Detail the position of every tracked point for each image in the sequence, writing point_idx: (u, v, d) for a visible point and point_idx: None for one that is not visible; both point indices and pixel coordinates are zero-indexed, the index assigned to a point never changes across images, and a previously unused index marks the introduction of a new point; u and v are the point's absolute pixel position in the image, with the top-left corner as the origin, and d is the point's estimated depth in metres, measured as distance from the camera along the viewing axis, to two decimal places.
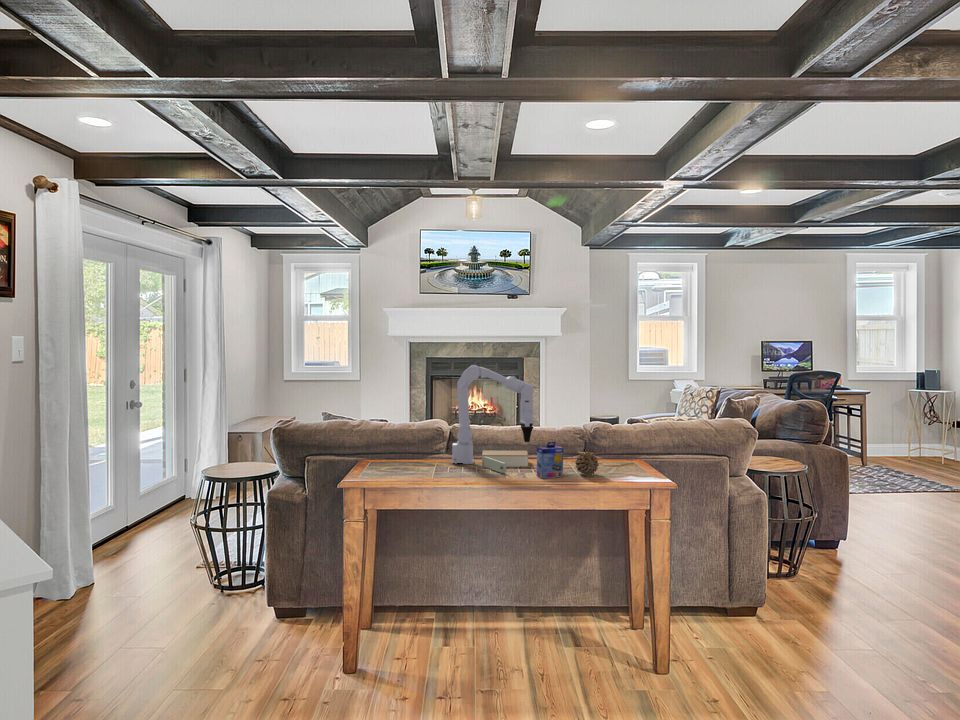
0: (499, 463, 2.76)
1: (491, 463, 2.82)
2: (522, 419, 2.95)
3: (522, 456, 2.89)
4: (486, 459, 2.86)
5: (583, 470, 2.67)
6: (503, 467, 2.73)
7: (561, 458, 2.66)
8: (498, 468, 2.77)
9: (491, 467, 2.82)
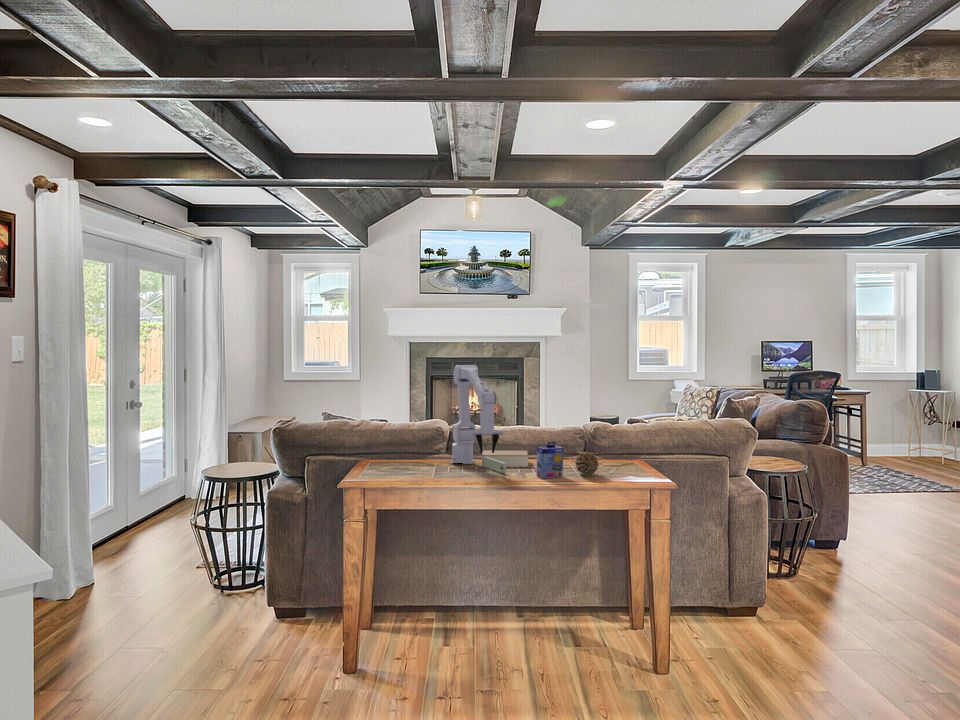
0: (499, 463, 2.76)
1: (491, 463, 2.82)
2: None
3: (522, 456, 2.89)
4: (486, 459, 2.86)
5: (583, 470, 2.67)
6: (503, 467, 2.73)
7: (561, 458, 2.66)
8: (498, 468, 2.77)
9: (491, 467, 2.82)
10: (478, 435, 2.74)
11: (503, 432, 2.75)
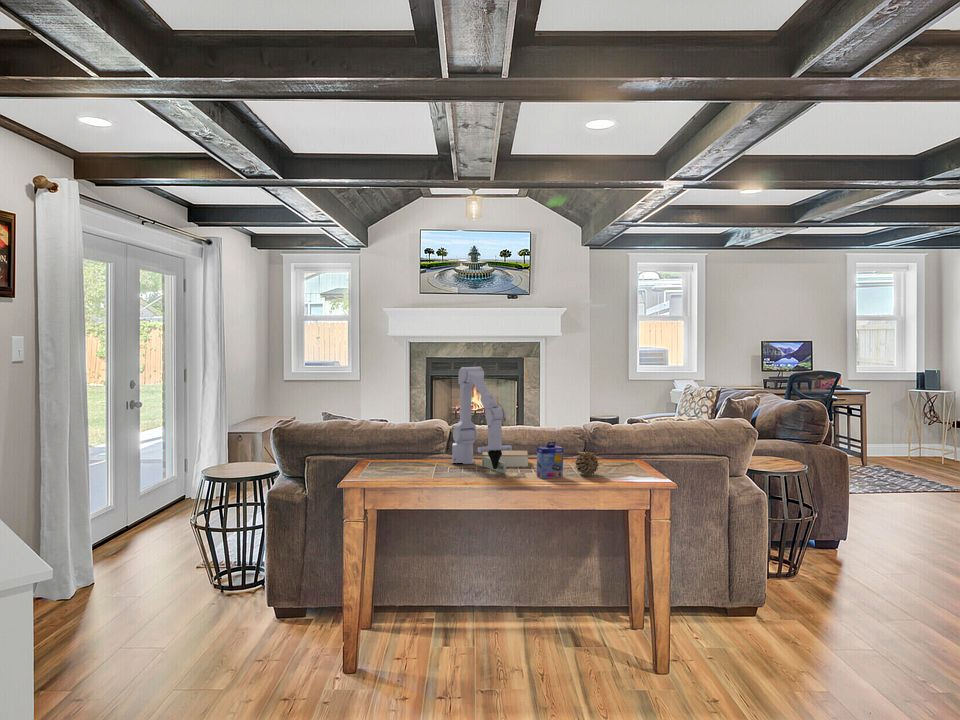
0: (499, 463, 2.76)
1: (491, 463, 2.82)
2: None
3: (522, 456, 2.89)
4: (486, 459, 2.86)
5: (583, 470, 2.67)
6: (503, 467, 2.73)
7: (561, 458, 2.66)
8: (498, 468, 2.77)
9: (491, 467, 2.82)
10: (492, 451, 2.75)
11: (510, 447, 2.78)
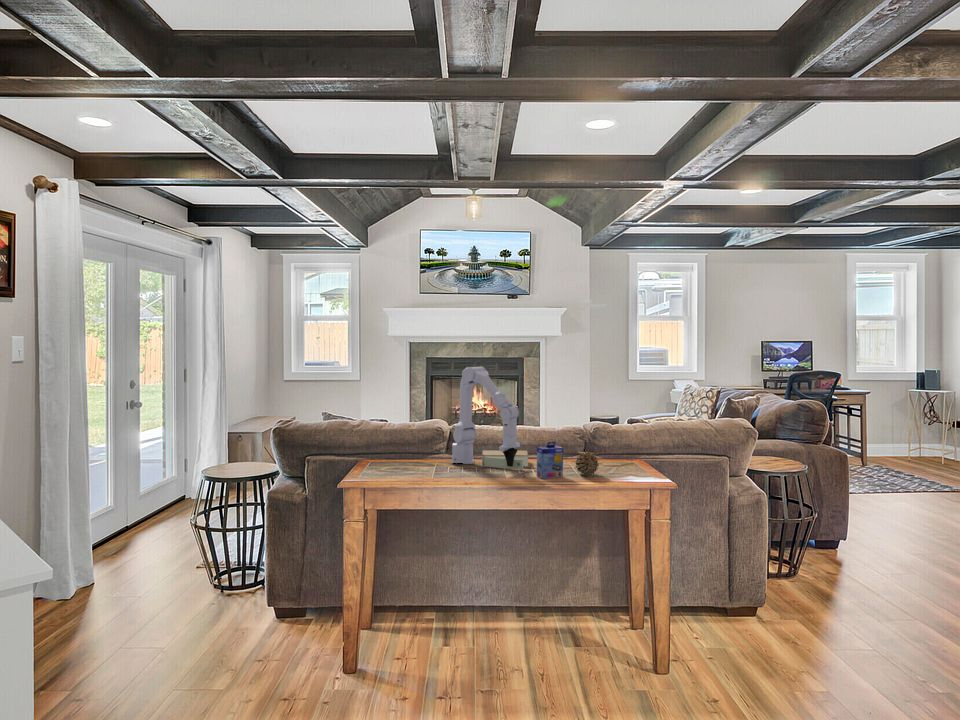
0: None
1: (500, 462, 2.85)
2: (503, 443, 2.81)
3: (522, 456, 2.89)
4: (489, 459, 2.87)
5: (583, 470, 2.67)
6: (521, 463, 2.81)
7: (561, 458, 2.66)
8: None
9: (499, 466, 2.85)
10: (509, 449, 2.80)
11: (519, 444, 2.86)
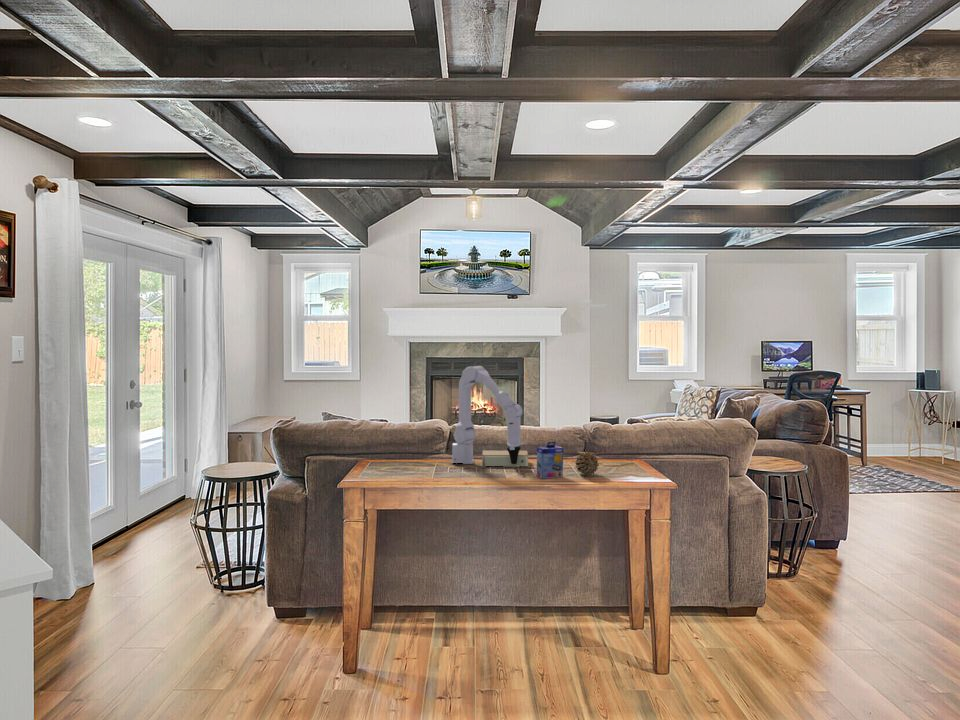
0: (517, 458, 2.88)
1: (502, 461, 2.88)
2: (508, 442, 2.85)
3: None
4: (490, 458, 2.88)
5: (583, 470, 2.67)
6: (524, 460, 2.88)
7: (561, 458, 2.66)
8: None
9: (501, 464, 2.88)
10: (515, 447, 2.85)
11: None
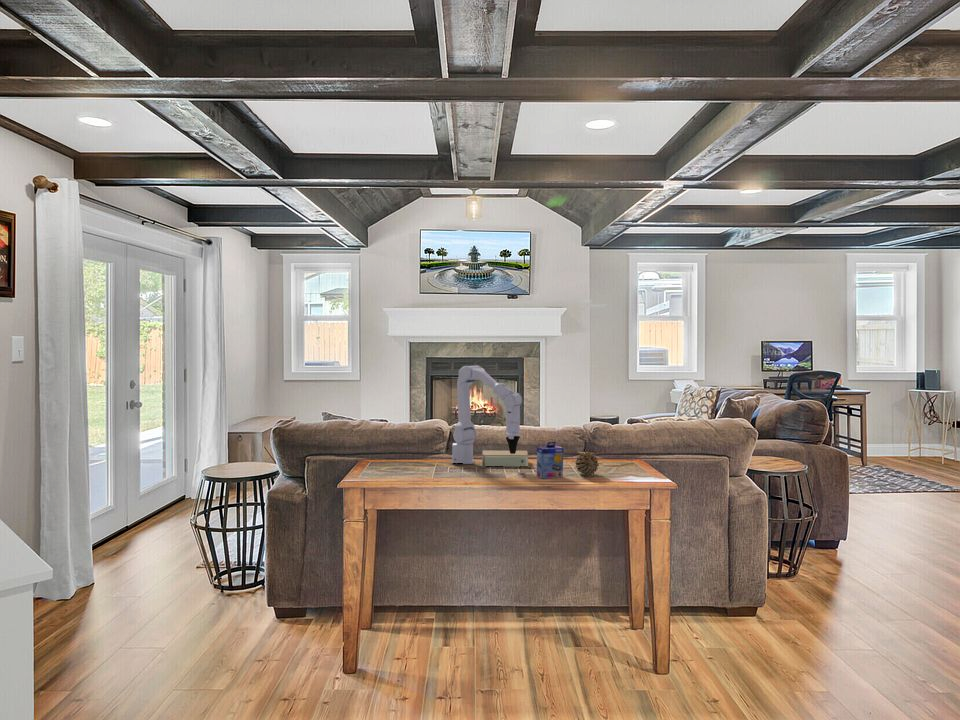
0: (517, 458, 2.88)
1: (502, 461, 2.88)
2: (507, 431, 2.80)
3: None
4: (490, 458, 2.88)
5: (583, 470, 2.67)
6: (524, 460, 2.88)
7: (561, 458, 2.66)
8: (515, 463, 2.88)
9: (501, 464, 2.88)
10: (514, 436, 2.80)
11: None
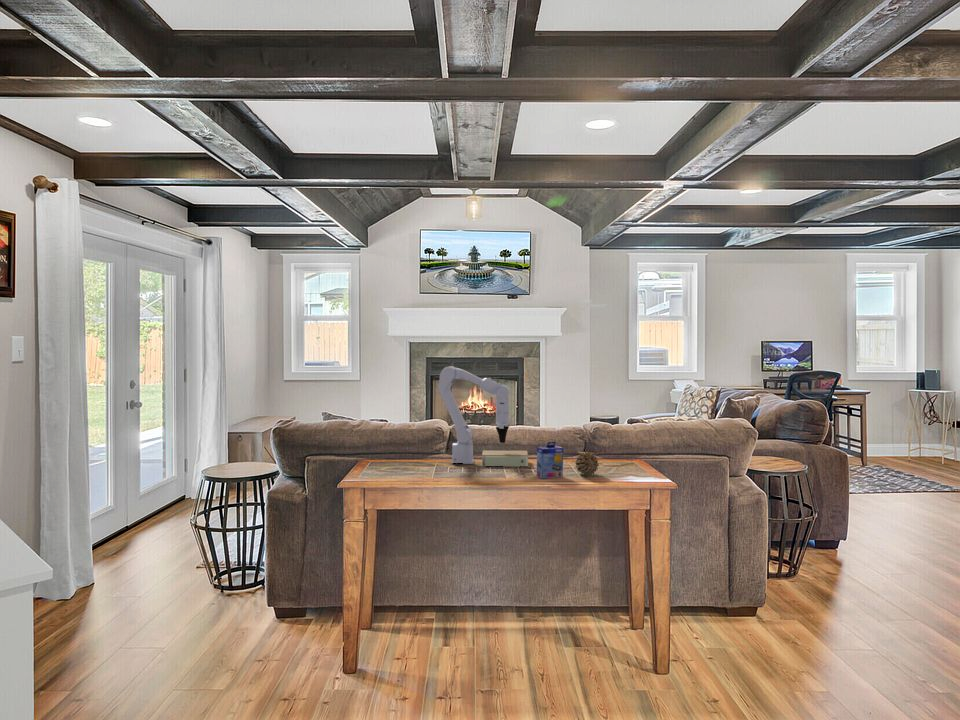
0: (517, 458, 2.88)
1: (502, 461, 2.88)
2: (497, 421, 2.94)
3: None
4: (490, 458, 2.88)
5: (583, 470, 2.67)
6: (524, 460, 2.88)
7: (561, 458, 2.66)
8: (515, 463, 2.88)
9: (501, 464, 2.88)
10: (503, 426, 2.94)
11: None
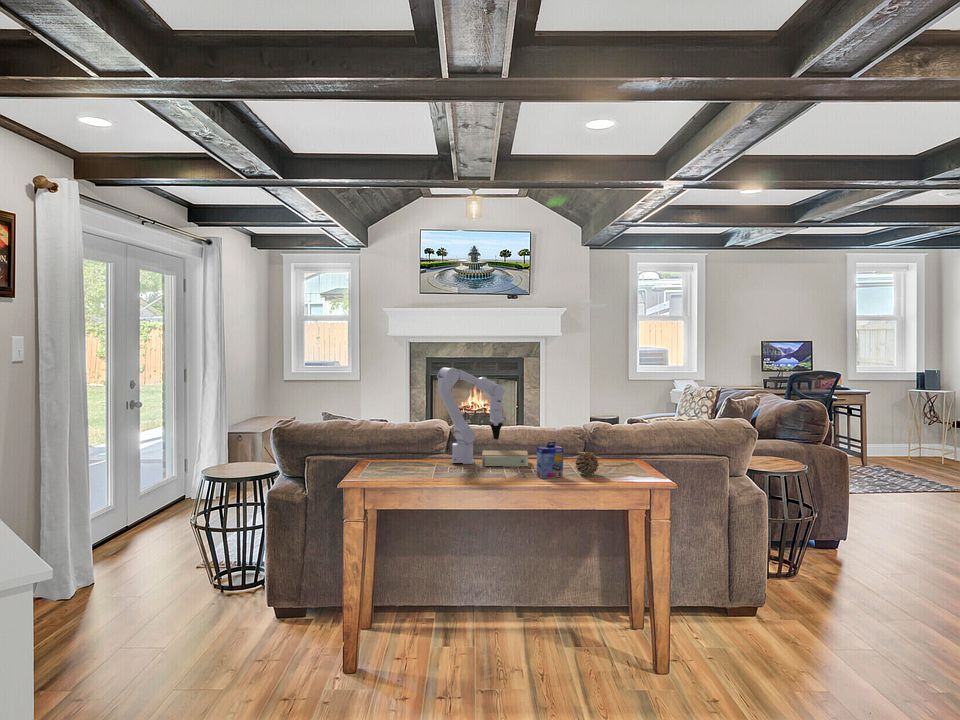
0: (517, 458, 2.88)
1: (502, 461, 2.88)
2: (491, 418, 3.04)
3: None
4: (490, 458, 2.88)
5: (583, 470, 2.67)
6: (524, 460, 2.88)
7: (561, 458, 2.66)
8: (515, 463, 2.88)
9: (501, 464, 2.88)
10: (497, 423, 3.04)
11: None
